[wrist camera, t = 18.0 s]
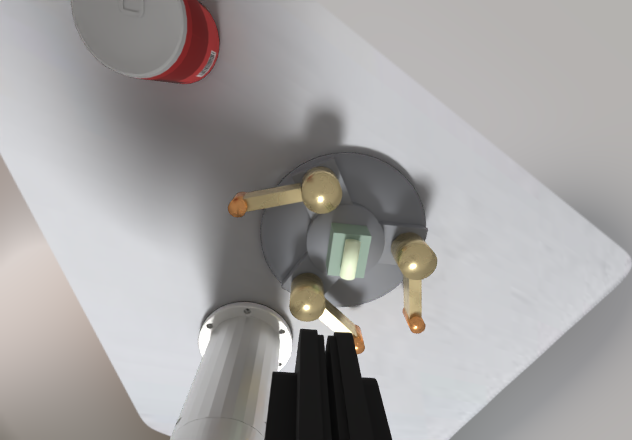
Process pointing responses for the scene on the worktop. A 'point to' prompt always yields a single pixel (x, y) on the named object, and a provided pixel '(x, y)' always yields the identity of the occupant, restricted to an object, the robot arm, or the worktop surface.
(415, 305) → the knob
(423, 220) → the tribrach
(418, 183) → the worktop surface
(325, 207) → the knob
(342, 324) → the knob
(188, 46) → the canned food
